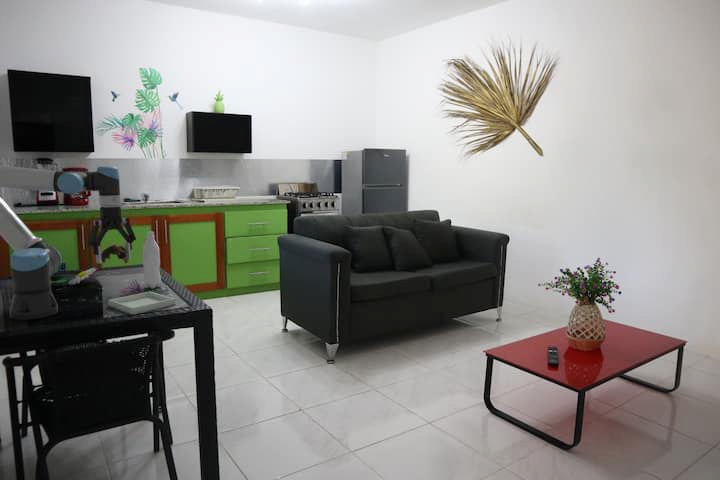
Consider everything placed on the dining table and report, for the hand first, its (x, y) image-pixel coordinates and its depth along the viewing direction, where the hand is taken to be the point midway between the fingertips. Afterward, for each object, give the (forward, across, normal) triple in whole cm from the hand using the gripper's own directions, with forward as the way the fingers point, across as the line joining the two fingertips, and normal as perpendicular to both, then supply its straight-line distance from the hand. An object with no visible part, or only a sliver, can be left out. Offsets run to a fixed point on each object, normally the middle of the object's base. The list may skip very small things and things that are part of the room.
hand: (113, 260), depth 207 cm
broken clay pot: (+1, 0, -1) cm, 1 cm away
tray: (+16, +2, -15) cm, 22 cm away
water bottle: (+17, +22, +8) cm, 29 cm away
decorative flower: (+17, -1, +43) cm, 46 cm away
